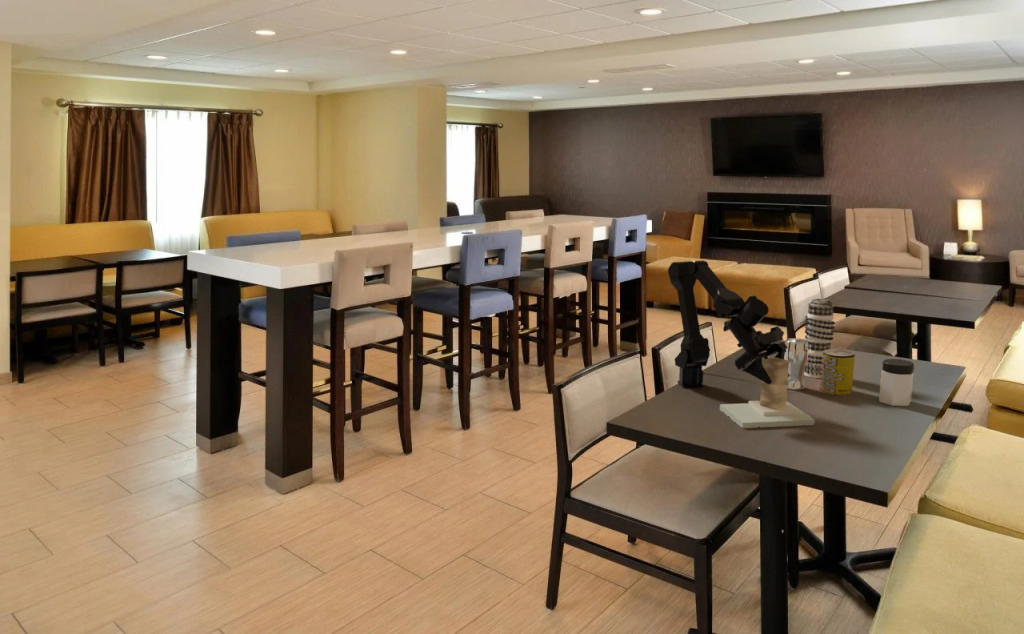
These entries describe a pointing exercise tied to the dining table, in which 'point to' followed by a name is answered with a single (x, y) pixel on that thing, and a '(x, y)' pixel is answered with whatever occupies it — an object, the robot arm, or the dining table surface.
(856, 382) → the dining table surface
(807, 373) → the decorative candle
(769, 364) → the pillar block
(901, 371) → the jar
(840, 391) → the beverage can
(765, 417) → the board
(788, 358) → the beer glass
